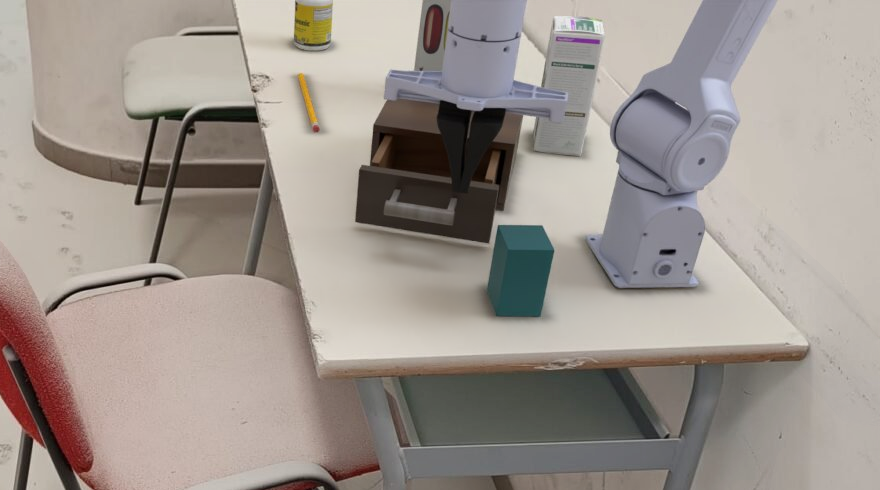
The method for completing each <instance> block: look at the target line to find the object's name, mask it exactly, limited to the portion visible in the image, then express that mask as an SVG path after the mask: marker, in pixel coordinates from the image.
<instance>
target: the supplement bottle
mask: <svg viewBox="0 0 880 490" xmlns="http://www.w3.org/2000/svg"><path fill="white" fill-rule="evenodd" d="M333 6H334V0H295V1H294V23H293V24H294V27H293V44H294V46H295V47H297V48H298V49H301V50H305V51H310V52H311V51H312V52H316V51H323V50H326V49H328V48H330V46H331V43H332V29H333V28H332V25H333V10H334V7H333Z"/></svg>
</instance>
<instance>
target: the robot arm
mask: <svg viewBox="0 0 880 490" xmlns="http://www.w3.org/2000/svg"><path fill="white" fill-rule="evenodd" d="M527 1H528V0H451V5H450V13H449V21H448V30H447V38H446V45H445V53H444V61H443V69H442V71H414V70H399V69H392V68H391V69H389V71H388V72H387V74H386V76H385V81H384V92H383V93H384V94H383V100H385V101H387V100H393V101H395V100H397V99H398V98H401V99H408V100H415V101H423V102H430V103H438V104H439V110H438V114H437V125H438V128H439V131H440V133H441V135H442V138H443V141H444V144H445V147H446V150H447V154H448V159H449V164H450V170H451V181H452V189H451V191H452V192H459V193H465V194H467V193H468V191H469V187H470V183H471V179H472V177H473V174H474V172H475V170H476V168H477V166H478V164H479V162H480V160H481V158H482V157H483V155H484V153H485V152H486V150H487V149H488V147H489V146H490V144H491V143H492V141H493V140H494V139H495V137H496V136H497V135H498V133H499V131H500V130H501V128H502V125H503V121H504V118H505V114H506V113H512V114H519V115H523V116H526V117H527V116H528V117H535V118H536V117H541V118H549V121H550V122H555V123H563V120H564V115H565V110H566V105H567V100H568V92H563V91H556V90H551V89H547V88H543V87H541V86H538V85H534V84H531V83H527V82H523V81H520V80H519V81H518V80H515V73H516V67H517V63H518V62H517V61H518V56H519V49H520V44H521V38H522V32H523V26H524V19H525V15H526V14H525V13H526V8H527ZM778 1H779V0H702V1H701V3H700V5H699V7H698V9H697V11H696V13H695V15H694V17H693V19H692V20H691V23H690V24H689V26H688V29H687V31H686V32H685V33H684V37H683V38H682V40H681V41H680V43H679V46H678V48H677V49H676V51H675V54H674V55H673V57H672V60H671V61H670V62H669V63H667V64H665V65H663V66H660V67H658V68H655V69H653V70H651V71H649V72H646V73H645V74H643V75H642V76H641V79H640V81H639V83H638V84H637V87H636V88H635V89H634V91H633V92H632V93H631V94H630V96H628V98H626V99H625V101H623V102H622V103H621V104H620V105H619V107H618V109H617V110H616V111H615V113H614V115H613V117H612V120H611V122H610V128H609V138H610V141H611V143H612V146H613V147H614V148H615V149H616V150H617V154H616V160H615V163H616V164H618V170H617V174H616V178H615V182H614V187H613V191H612V194H611V199H610V202H609V206H608V212H607V214H606V215H607V216H606V219H605V224H604V228H603V231H602V234H587V235H585V238H584V240H585V242H586V243H587V245H588V246H589V248H590V250H591V251H592V252H593V254H594V256H595V258H596V259H597V261H598V262H599V263H600V265H601V267H602V268H603V270H604V271H605V273H606V274H607V276H608V278H609V279H610V281H611V282H612V284H613V286H615V287H616V288H619V289H632V288H633V289H635V288H636V289H637V288H640V289H641V288H697V287H698V286H699V280H698V279H697V277H696V276H695V275H694V274H693V272H694V270H695V265H696V262H697V259H698V256H699V252H700V249H701V246H702V243H703V239H704V235H705V233H706V221H705V218H704V216H703V214H702V212H701V210H700V207H699V204H698V191H704V189H705V187H706V186H707V185H709V184H710V183H711V182H712V181H714V180H715V178H716V177H717V176H719V174H720V173H721V172H722V171H723V168H724V167H725V164H726V163H727V161H728V158H729V154H730V149H731V143H732V140H733V137H734V134H735V132H736V130H737V128H738V127H739V125H740V123H741V116H740V112H739V109H738V106H737V103H736V101H735V97H734V94H733V91H732V84H733V83H734V81H735V79H736V77H737V75H738V74H739V72H740V70H741V69H742V66H743V64H745V63H744V62H745V61H746V60H747V57H748V55H749V54H750V52H751V51H752V49H753V46H754V44H755V42H756V41H757V39H758V37H759V36H760V34H761V32H762V30H763V28H764V27H765V25H766V22H767V21H768V19H769V17H770V15H771V14H772V12H773V10H774V8H775V7H776V5H777V3H778ZM472 110H473V111H475V112H474V114H473V117H472V120H471V125H470V133H469V142H468V150H467V157H466V163H465V154H466V142H467V136H468V130H469V124H470V119H471V113H472Z"/></svg>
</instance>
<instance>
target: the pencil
mask: <svg viewBox="0 0 880 490" xmlns="http://www.w3.org/2000/svg"><path fill="white" fill-rule="evenodd" d="M303 73H304V72H298V75H297V78H298V80H299V85H300V89H301V92H302V95H303V99H304V102H305V105H306V109H307V113H308V117H309V120H310V124H311V128H312V130H313V132H314V133H319V132H320V126H319V122H318V119H317V116H316V111H315V109H314V105H313V102H312V99H311V95H310V93H309V89H308V84H307V82H306V78H305V75H304V74H303Z"/></svg>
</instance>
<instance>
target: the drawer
mask: <svg viewBox="0 0 880 490" xmlns="http://www.w3.org/2000/svg"><path fill="white" fill-rule="evenodd" d="M467 150H468V145H466V154H465V163H466V157H467ZM501 156H502V149H495V148H488V149H487V150H486V152H485V153H484V155H483V157H482V158H481V160H480V162H479V164H478V166H477V168H476V170H475V172H474V174H473V177H472V179H471V183H470V187H469V191H468V193H467V194H465V193H459V192H452V191H451V189H452V181H451V170H450V164H449V159H448V154H447V150H446V147H445V144H444V141H438V140H431V139H424V138H417V137H410V136H402V135H395V134H388V133H386V135H385V137H384V139H383V141H382V142H381V144H380V146H379V148H378V150H377V152H376V154H375V156H374V158H373V160H372V162H371V166H370V165H367V164H361V166H360V167H359V169H358V170H359V171H358V179H357V192H356V193H357V194H356V203H355V205H356V206H355V207H356V208H355V218H354V223H358V224H363V225H364V224H365V225H369V226H377V227H382V228H383V227H384V228H389V229H393V230H394V229H395V230H401V231H408V232H413V233H418V234H419V233H421V234H427V235H432V236H437V237H444V238H451V239H457V240H463V241H469V242H474V243H475V242H476V243H482V244H487V245H489V244H490V242H491V238H492V231H493V225H494V219H495V214H496V210H495V208H496V202H497V196H498V190H499V185H496V184H497V180H498V174H499V168H500V162H501Z"/></svg>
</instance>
